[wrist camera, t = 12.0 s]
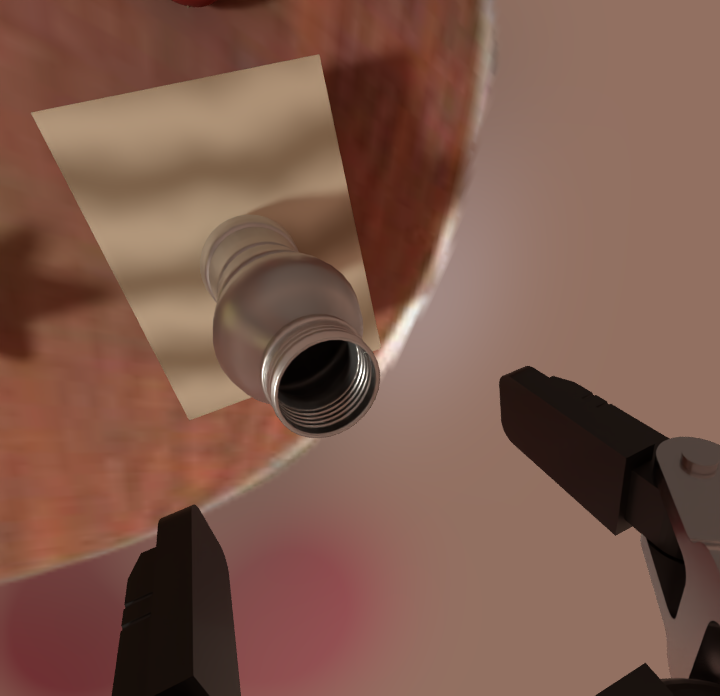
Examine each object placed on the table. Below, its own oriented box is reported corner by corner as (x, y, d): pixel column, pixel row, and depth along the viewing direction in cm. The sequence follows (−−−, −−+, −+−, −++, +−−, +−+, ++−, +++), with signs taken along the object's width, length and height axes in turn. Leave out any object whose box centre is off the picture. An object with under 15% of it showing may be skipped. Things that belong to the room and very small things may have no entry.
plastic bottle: (303, 230, 31) (451, 318, 14) (273, 314, 33) (373, 483, 16) (215, 194, 28) (266, 252, 11) (186, 289, 30) (193, 466, 13)
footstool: (66, 121, 30) (30, 112, 23) (292, 74, 34) (319, 54, 27) (189, 375, 41) (189, 420, 34) (351, 318, 44) (381, 348, 38)
